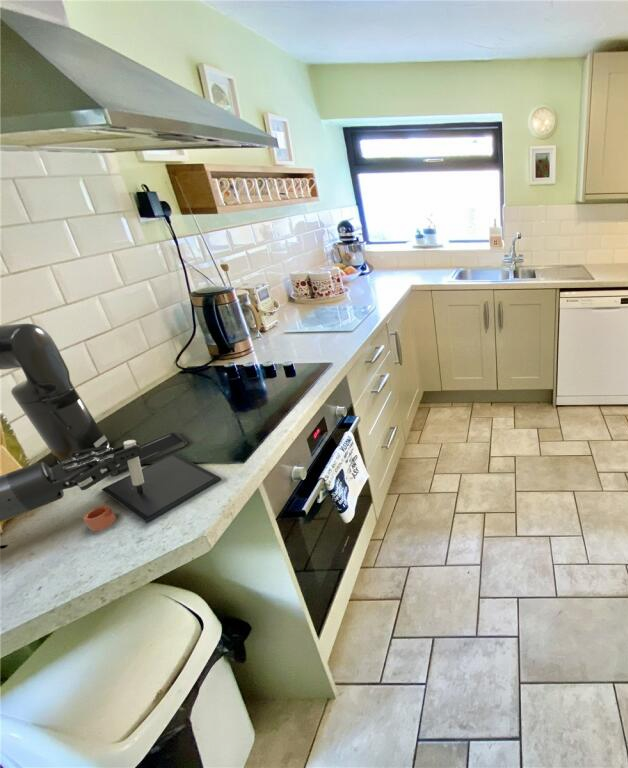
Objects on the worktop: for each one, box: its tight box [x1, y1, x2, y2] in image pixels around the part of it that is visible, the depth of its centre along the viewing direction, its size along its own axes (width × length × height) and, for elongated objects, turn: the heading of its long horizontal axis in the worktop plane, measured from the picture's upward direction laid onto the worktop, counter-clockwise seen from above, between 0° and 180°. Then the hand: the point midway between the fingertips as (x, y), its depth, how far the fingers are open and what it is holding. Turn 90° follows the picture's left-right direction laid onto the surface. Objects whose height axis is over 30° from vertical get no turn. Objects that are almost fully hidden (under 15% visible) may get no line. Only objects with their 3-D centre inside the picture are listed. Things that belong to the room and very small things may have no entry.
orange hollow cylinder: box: [82, 505, 117, 532], centre depth 80 cm, size 4×4×3 cm
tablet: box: [101, 452, 222, 524], centre depth 90 cm, size 20×14×1 cm
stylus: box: [122, 439, 144, 494], centre depth 85 cm, size 2×2×12 cm
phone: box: [110, 431, 188, 477], centre depth 100 cm, size 8×1×15 cm
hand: (139, 447), depth 84 cm, fingers closed on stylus, 2 cm apart
